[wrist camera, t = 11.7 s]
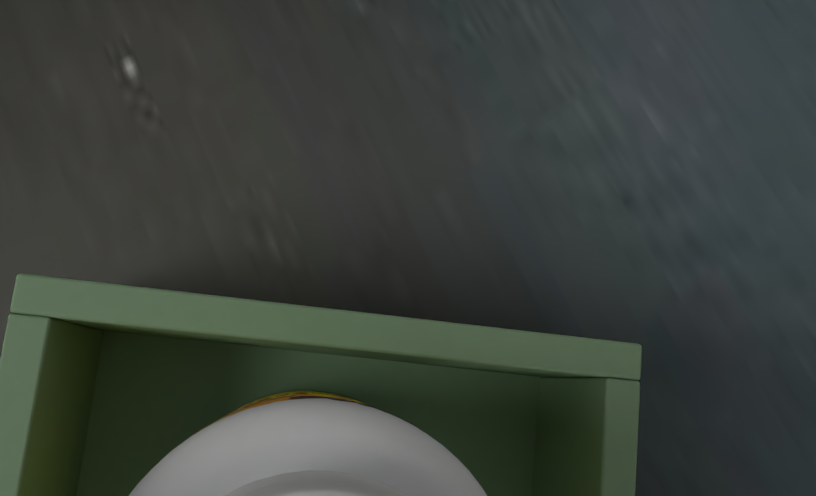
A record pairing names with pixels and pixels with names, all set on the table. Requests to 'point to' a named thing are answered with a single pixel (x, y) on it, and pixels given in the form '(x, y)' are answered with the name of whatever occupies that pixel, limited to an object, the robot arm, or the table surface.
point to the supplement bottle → (309, 454)
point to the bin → (298, 386)
